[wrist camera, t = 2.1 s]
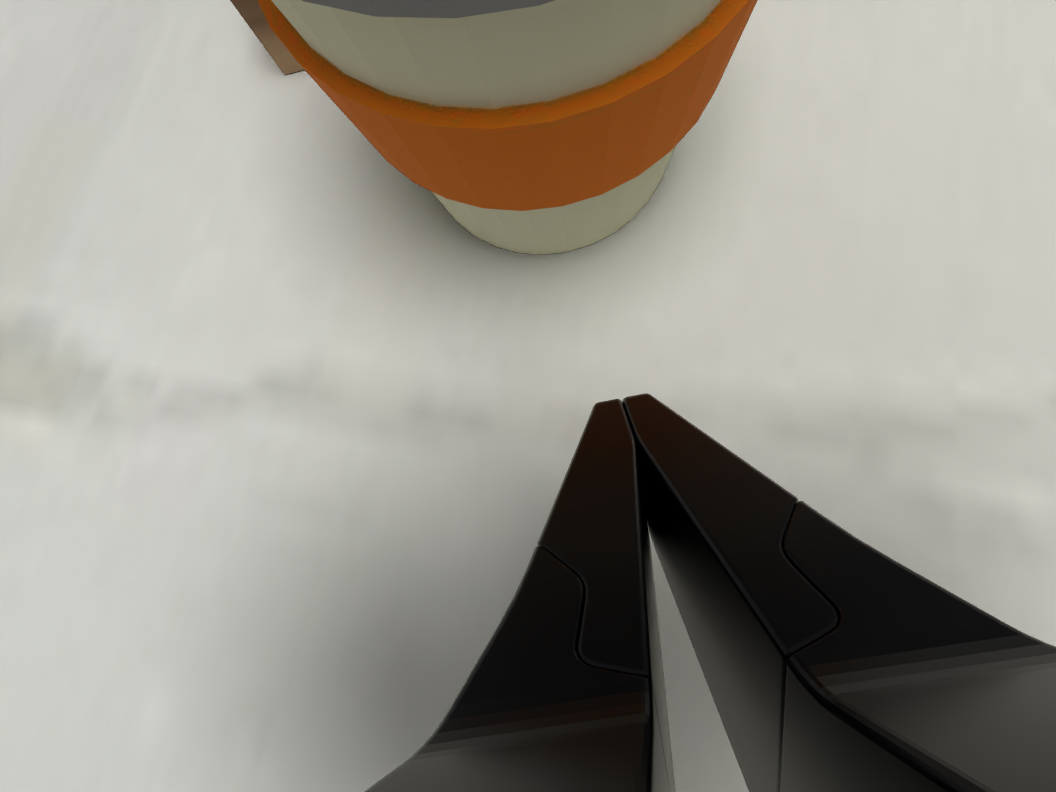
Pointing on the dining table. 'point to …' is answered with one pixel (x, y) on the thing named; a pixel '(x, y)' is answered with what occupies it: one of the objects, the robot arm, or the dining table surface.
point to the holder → (267, 35)
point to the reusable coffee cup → (520, 99)
